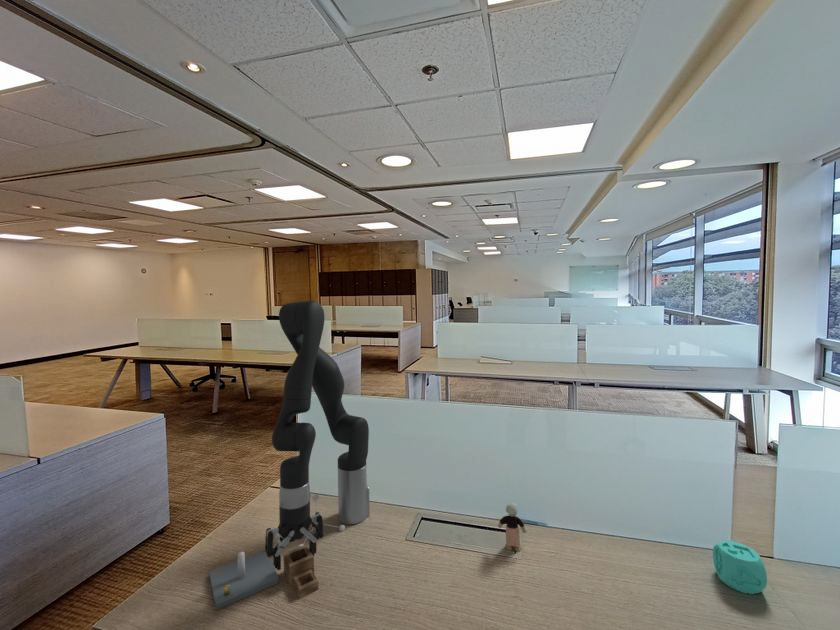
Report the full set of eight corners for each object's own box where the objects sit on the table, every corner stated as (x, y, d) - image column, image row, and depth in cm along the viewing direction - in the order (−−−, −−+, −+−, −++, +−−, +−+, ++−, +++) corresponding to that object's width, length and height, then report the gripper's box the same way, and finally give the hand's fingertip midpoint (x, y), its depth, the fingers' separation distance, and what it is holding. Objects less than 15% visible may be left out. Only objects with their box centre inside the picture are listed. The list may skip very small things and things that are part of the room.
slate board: (266, 554, 104) (265, 529, 103) (279, 582, 93) (278, 554, 93) (209, 576, 96) (208, 549, 95) (216, 610, 85) (215, 579, 85)
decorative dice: (767, 598, 87) (767, 565, 86) (725, 589, 89) (726, 557, 89) (750, 574, 94) (751, 544, 94) (712, 567, 97) (712, 537, 97)
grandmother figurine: (524, 543, 107) (524, 500, 107) (526, 552, 103) (526, 508, 103) (497, 541, 108) (497, 499, 107) (498, 550, 104) (498, 506, 103)
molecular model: (297, 553, 105) (296, 509, 104) (303, 522, 119) (302, 484, 119) (345, 546, 107) (344, 504, 107) (345, 516, 122) (344, 479, 121)
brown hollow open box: (306, 562, 100) (306, 544, 100) (321, 587, 91) (320, 568, 91) (283, 572, 97) (283, 553, 97) (296, 599, 88) (296, 579, 88)
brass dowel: (229, 591, 89) (229, 583, 89) (230, 594, 88) (230, 586, 88) (223, 593, 88) (223, 585, 88) (224, 596, 87) (224, 588, 87)
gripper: (317, 486, 102) (317, 543, 103) (262, 501, 94) (263, 564, 95) (326, 497, 96) (327, 559, 97) (269, 515, 88) (269, 582, 89)
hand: (295, 561), depth 96 cm, fingers open, 8 cm apart
